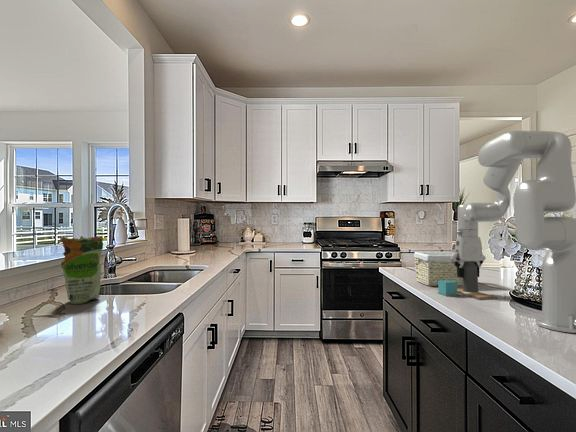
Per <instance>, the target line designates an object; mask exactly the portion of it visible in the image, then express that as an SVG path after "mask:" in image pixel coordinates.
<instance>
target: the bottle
mask: <svg viewBox="0 0 576 432" xmlns="http://www.w3.org/2000/svg"><path fill="white" fill-rule="evenodd" d="M474 262H475V261H471V262H464V264H463V266H462V268H463V269H464V277H463V278H462V286H461V287H463V291H465V292H479V277H478V274H477V265H476V264H474Z"/></svg>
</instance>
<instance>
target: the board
mask: <svg viewBox="0 0 576 432" xmlns="http://www.w3.org/2000/svg"><path fill="white" fill-rule="evenodd" d="M457 294H460V295H462V296H465V297H469V298H471V299H475V300H478V301H483V300H484V301H485V300H498V297H497V296H495V295H491V294H488V293H485V292H480V291H478V292H465V291H463V287H462V286H457Z"/></svg>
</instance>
